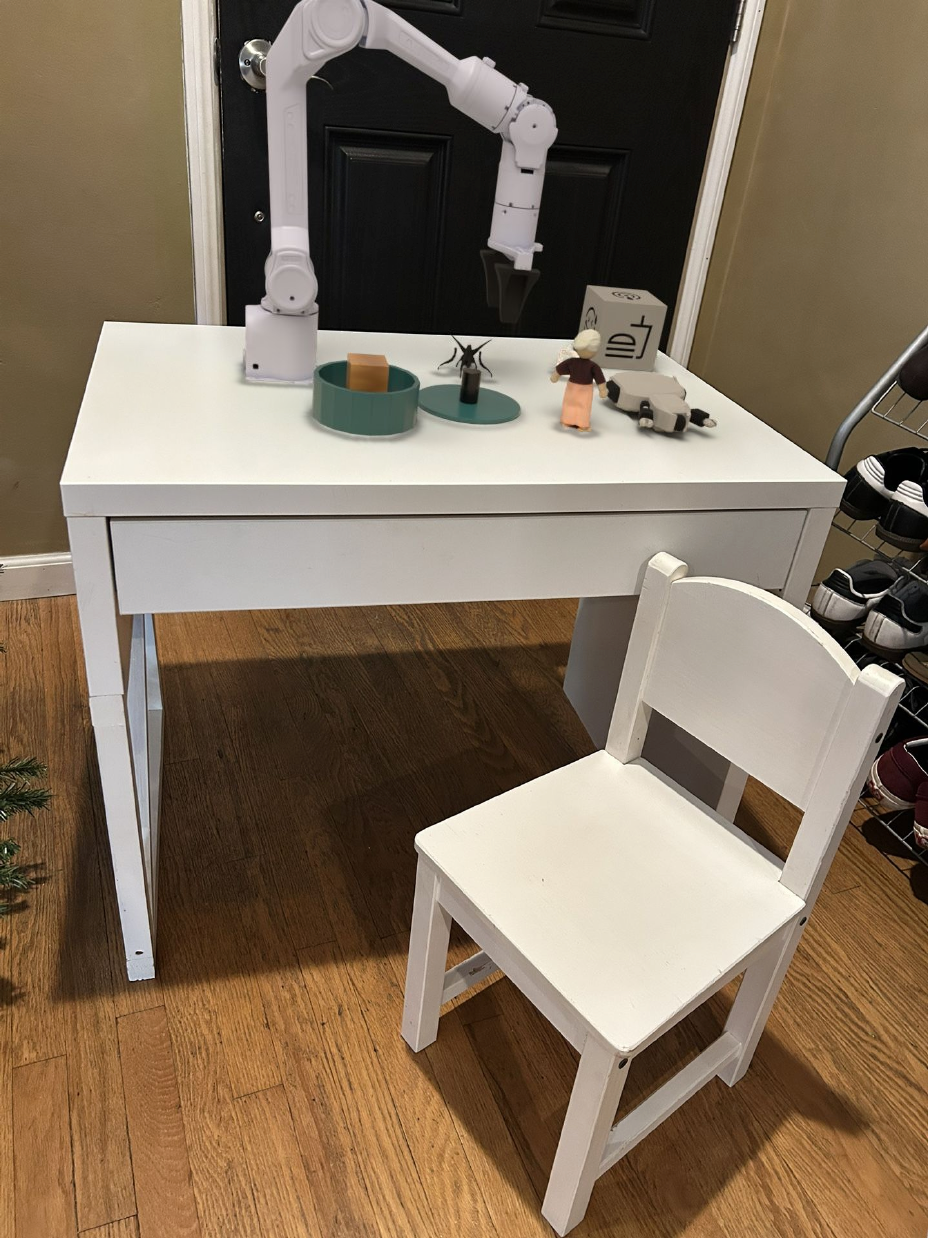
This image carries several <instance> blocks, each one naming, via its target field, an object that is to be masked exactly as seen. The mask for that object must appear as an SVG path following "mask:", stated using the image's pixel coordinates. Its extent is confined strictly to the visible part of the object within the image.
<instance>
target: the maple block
mask: <svg viewBox="0 0 928 1238" xmlns="http://www.w3.org/2000/svg"><path fill="white" fill-rule="evenodd" d="M346 360H347V376H346V389H350V390H355V391H364V392H373V393H377V392H387V388H388V375H389V365H390V364H389V363H388V360H387V358H386V355H384V354H371V353H357V352H355V353H354V352H348V353H347V359H346ZM388 364H389V365H388Z"/></svg>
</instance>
